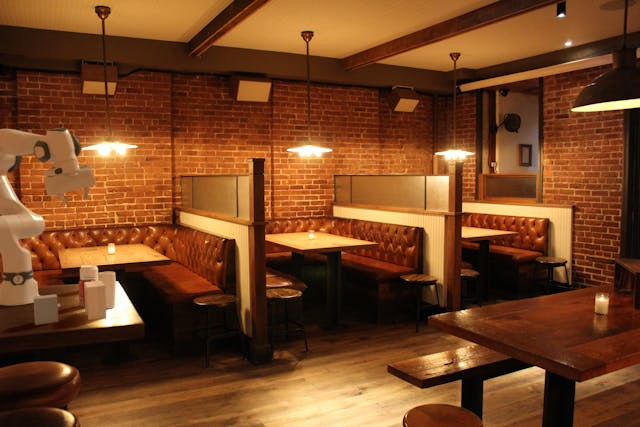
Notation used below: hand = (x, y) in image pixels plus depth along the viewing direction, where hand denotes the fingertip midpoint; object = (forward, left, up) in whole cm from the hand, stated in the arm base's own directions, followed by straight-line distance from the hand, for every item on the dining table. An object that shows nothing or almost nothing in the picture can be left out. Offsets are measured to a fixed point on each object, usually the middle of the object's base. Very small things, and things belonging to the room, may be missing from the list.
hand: (76, 201), depth 223 cm
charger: (+9, -13, -46) cm, 49 cm away
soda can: (-10, +4, -46) cm, 47 cm away
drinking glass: (-2, +11, -46) cm, 47 cm away
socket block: (+9, +5, -46) cm, 47 cm away
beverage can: (-41, +8, -46) cm, 62 cm away
